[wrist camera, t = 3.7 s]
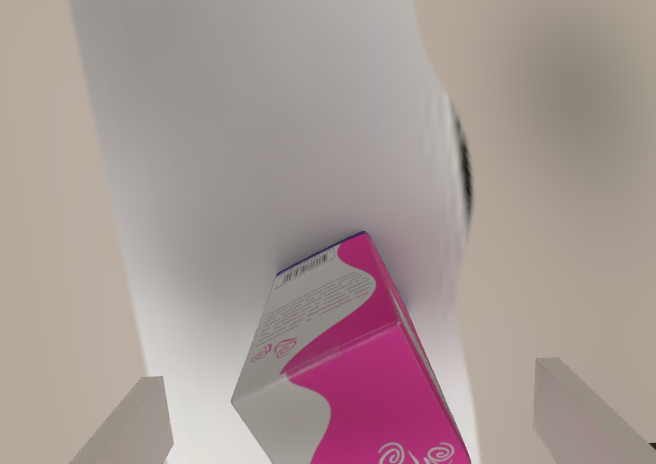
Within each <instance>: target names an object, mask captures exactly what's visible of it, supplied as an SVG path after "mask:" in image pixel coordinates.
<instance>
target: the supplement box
mask: <svg viewBox="0 0 656 464" xmlns="http://www.w3.org/2000/svg"><path fill="white" fill-rule="evenodd" d="M231 403H232V405H233V407H234V408H235V410H236V411H237V412H238V414H239V415H240V417H241V418H242V420H243V421H244V422H245V424H246V425H247V427H248V428H249V430H250V431H251V433H252V434H253V435H254V437H255V438H256V440H257V441H258V443H259V444H260V446H261V447H262V449H263V450H264V452H265V453H266V454H267V456H268V458H269V459H270V461H271V462H272V464H471V460H470V457H469V454H468V452H467V449H466V447H465V444H464V442H463V439H462V437H461V434H460V432H459V430H458V428H457V425H456V423H455V420H454V418H453V416H452V414H451V412H450V409H449V407H448V405H447V403H446V400H445V397H444V395H443V393H442V390H441V388H440V385H439V383H438V381H437V379H436V377H435V374H434V372H433V370H432V367H431V365H430V363H429V360H428V358H427V356H426V353H425V351H424V349H423V346H422V344H421V342H420V339H419V337H418V335H417V333H416V330H415V328H414V325H413V323H412V321H411V318H410V316H409V314H408V312H407V310H406V308H405V306H404V303H403V301H402V299H401V297H400V295H399V293H398V291H397V289H396V287H395V285H394V283H393V281H392V279H391V277H390V275H389V273H388V271H387V269H386V267H385V265H384V263H383V261H382V259H381V257H380V256H379V254H378V252H377V250H376V248H375V246H374V244H373V242H372V240H371V238H370V236H369V235H368V233H367V232H365V231H363V232H360V233H358V234H355V235H353V236H351V237H349V238H347V239H345V240H343V241H341V242H339V243H337V244H335V245H333V246H330V247H329V248H327V249H325V250H323V251H321V252H319V253H317V254H314V255H312V256H310V257H308V258H306V259H304V260H303V261H301V262H299V263H297V264H295V265H293V266H291V267H289V268H287V269H285V270H283V271H281V272H279V273H277V275H276V279H275V282H274V284H273V287H272V290H271V293H270V295H269V298H268V301H267V303H266V306H265V309H264V312H263V314H262V317H261V320H260V323H259V325H258V328H257V331H256V333H255V336H254V339H253V342H252V344H251V347H250V350H249V353H248V355H247V358H246V361H245V364H244V366H243V369H242V371H241V374H240V377H239V379H238V382H237V385H236V388H235V390H234V393H233V396H232V398H231Z"/></svg>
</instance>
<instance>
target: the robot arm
mask: <svg viewBox="0 0 656 464" xmlns="http://www.w3.org/2000/svg"><path fill="white" fill-rule="evenodd" d="M534 396H535V397H534V420H533V421H534V422H533V429H534V430H535V432H536V433H537V435H538V436H539V438H540V439H541V440H542V442H543V443H544V445H545V446H546V448H547V449H548V451H549V452H550V453H551V455H552V456H553V458H554V459H555V461H556V462H557V464H656V443H647V441H645V440H644V439H643V438H642V437H641V436H640V435H639V434H638V433H637V432H636V431H635V430H634V429H633V428H632V427H631V426H630V425H629V424H628V423H627V422H626V421H624V419H623V418H622V417H620V416H619V415H618V414H617V413H616V412H615V411H614V410H613V409H612V408H611V407H610V406H609V405H608V404H607V403H606V402H605V401H604V400H603V399H602V398H601V397H600V396H599V395H597V394H596V393H595V392H594V391H593V390H592V389H591V388H590V387H589V386H588V385H587V384H586V383H585V382H584V381H583V380H582V379H581V378H579V376H578V375H577V374H576V373H574V372H573V371H572V370H571V369H570V368H569V367H568V366H567V365H566V364H565V363H564V362H563V361H562V360H561V359H560V358H559V357H551V358H536V370H535V395H534ZM173 444H174V443H173V437H172V431H171V424H170V418H169V412H168V406H167V400H166V394H165V387H164V381H163V376H159V377H142V378H141V379H140V380H139V381H138V382H137V383H136V385H135V386H134V387H133V388H132V390H131V391H130V392H129V393H128V394H127V395H126V396H125V398H124V399H123V400H122V401H121V402H120V404H119V405H118V406H117V407H116V408H115V409H114V411H113V412H112V413H111V414H110V416H109V417H108V418H107V419H106V420H105V421H104V423H103V424H102V425H101V426H100V427H99V428H98V430H97V431H96V432H95V433H94V435H93V436H92V437H91V438H90V439H89V440H88V442H87V443H86V444H85V445H84V446H83V448H82V449H81V450H80V451H79V452H78V453H77V454H76V456H75V457H74V458H73V459H72V460H71V462H70V463H69V464H163V462H164V460H165V459H166V457H167V455H168V453H169V451H170V449H171V448H172V446H173Z"/></svg>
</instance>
